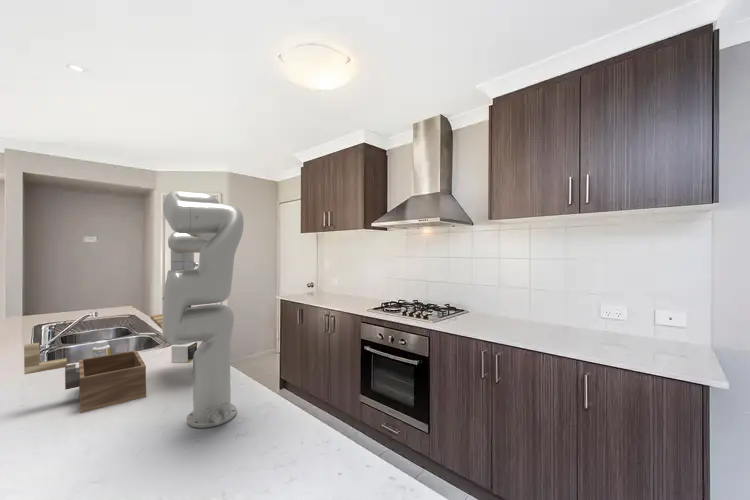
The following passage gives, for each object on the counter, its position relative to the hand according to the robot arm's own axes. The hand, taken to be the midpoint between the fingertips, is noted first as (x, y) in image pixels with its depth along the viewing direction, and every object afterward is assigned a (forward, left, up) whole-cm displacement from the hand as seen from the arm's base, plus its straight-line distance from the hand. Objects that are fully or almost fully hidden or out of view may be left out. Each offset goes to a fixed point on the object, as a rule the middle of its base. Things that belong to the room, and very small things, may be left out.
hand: (182, 315), depth 126 cm
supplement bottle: (+34, +22, -23) cm, 46 cm away
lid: (0, 0, -2) cm, 2 cm away
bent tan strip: (0, +37, -11) cm, 38 cm away
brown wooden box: (0, +23, -23) cm, 32 cm away
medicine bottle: (+21, -5, -23) cm, 31 cm away
